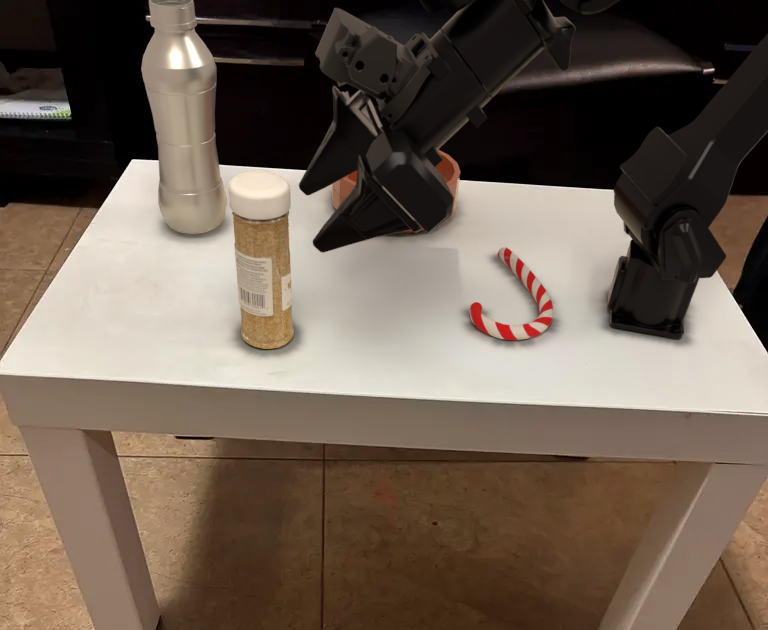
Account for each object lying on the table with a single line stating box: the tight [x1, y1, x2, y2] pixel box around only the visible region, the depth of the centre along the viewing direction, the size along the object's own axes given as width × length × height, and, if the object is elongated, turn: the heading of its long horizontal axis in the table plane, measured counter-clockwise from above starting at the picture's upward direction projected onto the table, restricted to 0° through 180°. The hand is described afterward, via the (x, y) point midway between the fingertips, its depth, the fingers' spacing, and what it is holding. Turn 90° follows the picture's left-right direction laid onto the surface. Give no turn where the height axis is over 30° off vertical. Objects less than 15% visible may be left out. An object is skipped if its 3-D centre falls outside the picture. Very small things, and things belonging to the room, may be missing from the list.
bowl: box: [331, 149, 462, 234], centre depth 87 cm, size 13×13×4 cm
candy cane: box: [469, 246, 554, 341], centre depth 77 cm, size 8×1×15 cm
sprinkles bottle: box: [228, 170, 295, 350], centre depth 66 cm, size 5×5×14 cm
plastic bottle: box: [140, 0, 228, 235], centre depth 76 cm, size 6×7×20 cm
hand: (309, 218), depth 64 cm, fingers open, 9 cm apart
